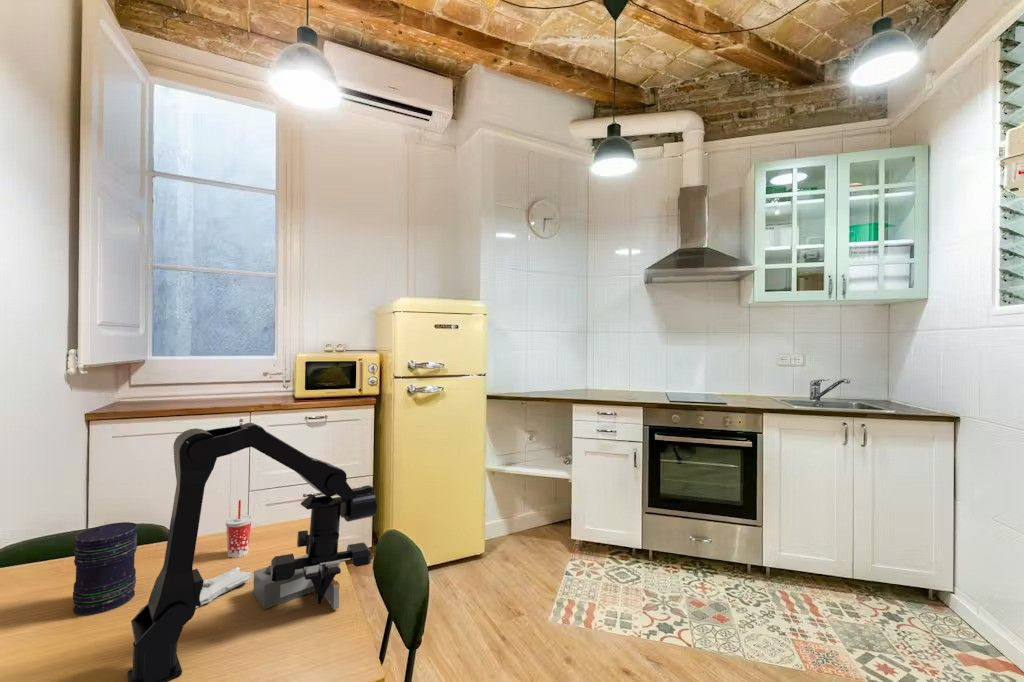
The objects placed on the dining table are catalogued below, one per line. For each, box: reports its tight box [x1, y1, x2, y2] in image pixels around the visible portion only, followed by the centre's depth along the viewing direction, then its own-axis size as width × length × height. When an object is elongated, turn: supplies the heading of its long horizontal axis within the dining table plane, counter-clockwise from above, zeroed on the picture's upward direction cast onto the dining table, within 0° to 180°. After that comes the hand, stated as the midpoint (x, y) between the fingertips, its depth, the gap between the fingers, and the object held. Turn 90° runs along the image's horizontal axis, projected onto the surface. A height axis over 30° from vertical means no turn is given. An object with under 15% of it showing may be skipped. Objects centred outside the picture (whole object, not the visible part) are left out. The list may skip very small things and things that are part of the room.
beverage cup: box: [224, 499, 254, 558], centre depth 116 cm, size 6×6×14 cm
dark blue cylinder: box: [72, 521, 138, 617], centre depth 93 cm, size 10×10×15 cm
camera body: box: [253, 554, 322, 610], centre depth 98 cm, size 8×12×6 cm
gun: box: [196, 567, 254, 609], centre depth 96 cm, size 18×4×10 cm
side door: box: [320, 567, 340, 610], centre depth 95 cm, size 1×11×5 cm, turn 39°
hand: (319, 602), depth 91 cm, fingers closed
